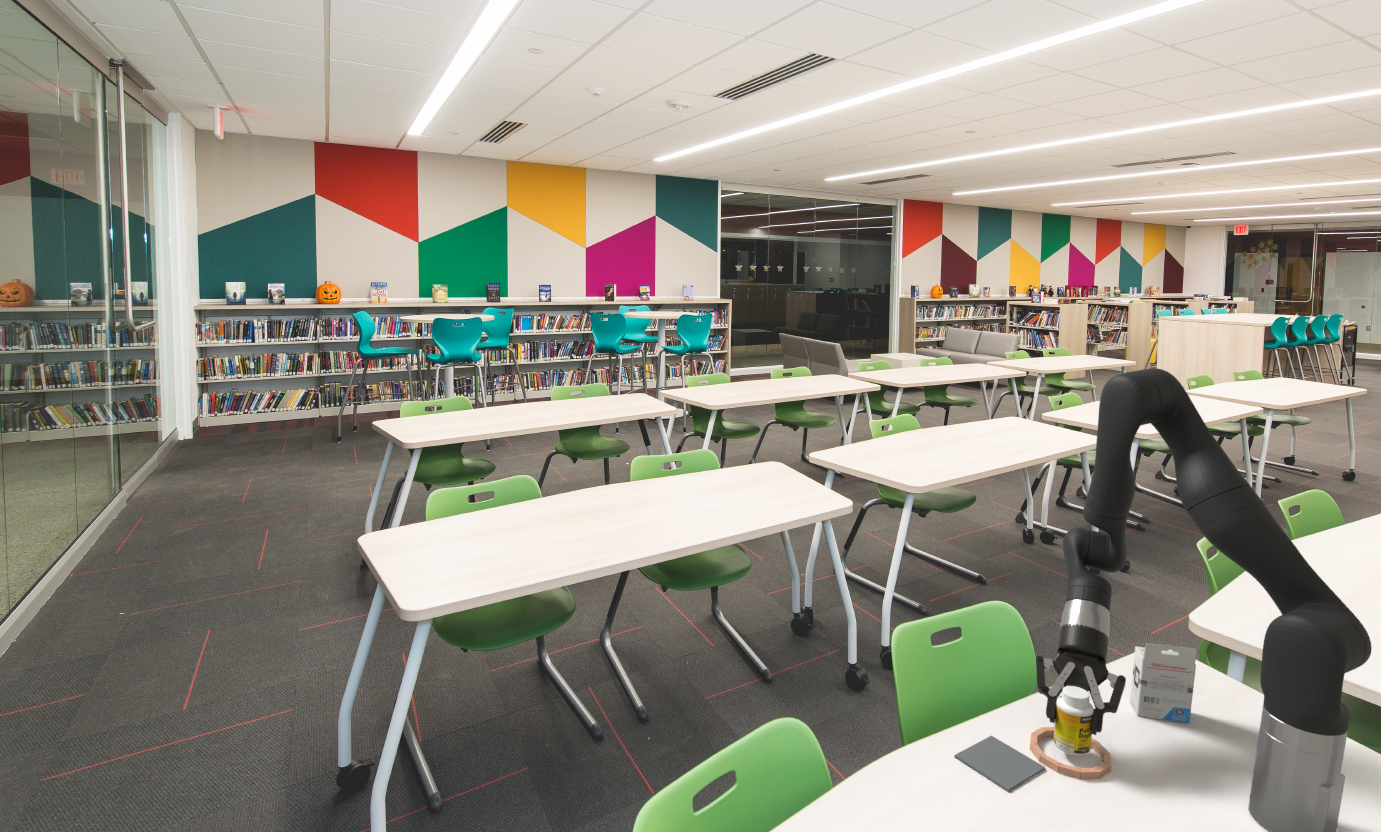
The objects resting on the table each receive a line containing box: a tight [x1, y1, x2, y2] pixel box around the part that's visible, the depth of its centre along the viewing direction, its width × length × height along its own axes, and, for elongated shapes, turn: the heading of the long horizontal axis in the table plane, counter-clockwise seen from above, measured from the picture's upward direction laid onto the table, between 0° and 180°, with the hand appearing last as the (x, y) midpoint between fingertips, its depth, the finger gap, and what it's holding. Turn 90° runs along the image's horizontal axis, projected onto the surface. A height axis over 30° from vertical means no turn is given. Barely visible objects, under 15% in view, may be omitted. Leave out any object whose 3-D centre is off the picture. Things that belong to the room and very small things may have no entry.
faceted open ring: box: [1029, 726, 1112, 780], centre depth 118 cm, size 12×12×1 cm
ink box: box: [1129, 642, 1197, 724], centre depth 129 cm, size 9×5×15 cm, turn 73°
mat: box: [954, 735, 1046, 793], centre depth 117 cm, size 10×10×1 cm
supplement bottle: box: [1053, 686, 1095, 757], centre depth 117 cm, size 6×6×10 cm
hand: (1072, 727), depth 116 cm, fingers closed on supplement bottle, 5 cm apart
